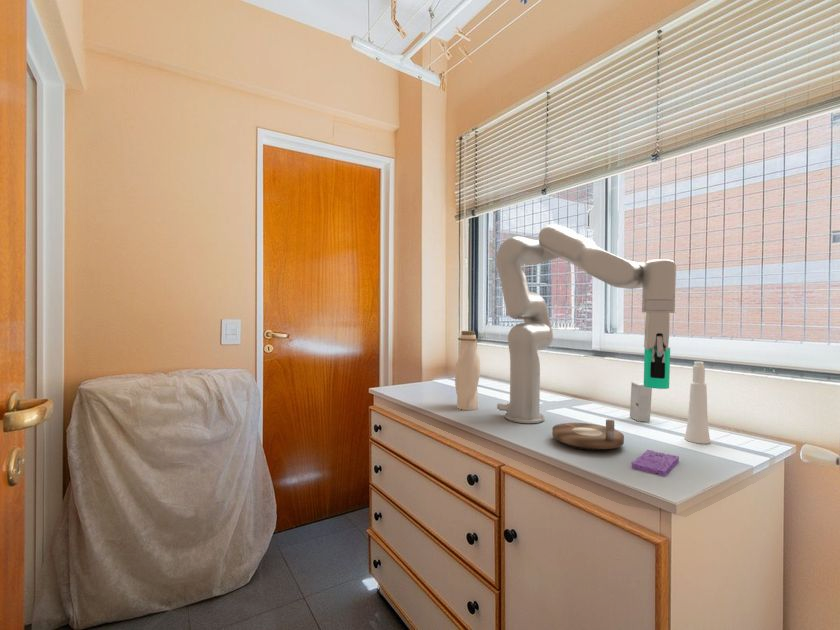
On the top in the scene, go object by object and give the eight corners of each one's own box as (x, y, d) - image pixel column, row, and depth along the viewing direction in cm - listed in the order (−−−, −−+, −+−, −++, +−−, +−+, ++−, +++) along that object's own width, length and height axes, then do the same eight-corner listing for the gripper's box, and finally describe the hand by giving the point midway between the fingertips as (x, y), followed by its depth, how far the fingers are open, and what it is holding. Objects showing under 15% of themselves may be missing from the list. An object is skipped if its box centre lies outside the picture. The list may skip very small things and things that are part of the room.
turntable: (538, 432, 118) (538, 409, 118) (586, 425, 126) (586, 403, 126) (587, 452, 102) (588, 425, 102) (639, 443, 109) (639, 418, 109)
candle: (673, 389, 107) (674, 342, 107) (647, 388, 108) (648, 341, 108) (664, 385, 113) (665, 340, 113) (640, 384, 114) (641, 340, 114)
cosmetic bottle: (681, 439, 117) (682, 361, 117) (688, 435, 121) (690, 360, 121) (706, 445, 113) (708, 364, 112) (713, 441, 117) (715, 362, 116)
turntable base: (561, 446, 111) (561, 441, 111) (565, 434, 122) (565, 429, 122) (611, 453, 106) (611, 447, 106) (611, 439, 117) (611, 434, 117)
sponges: (679, 463, 101) (679, 456, 101) (665, 479, 92) (665, 470, 92) (646, 456, 106) (647, 449, 106) (630, 470, 97) (631, 462, 96)
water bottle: (455, 403, 160) (456, 330, 159) (479, 404, 158) (480, 330, 158) (454, 410, 149) (454, 331, 149) (479, 411, 148) (480, 332, 148)
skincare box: (629, 416, 142) (629, 381, 142) (642, 417, 142) (643, 381, 142) (637, 421, 136) (638, 384, 136) (651, 422, 136) (652, 384, 135)
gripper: (639, 307, 119) (638, 370, 120) (644, 307, 104) (642, 380, 104) (670, 307, 116) (668, 372, 117) (680, 307, 101) (677, 382, 101)
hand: (656, 375), depth 110 cm, fingers closed on candle, 4 cm apart
